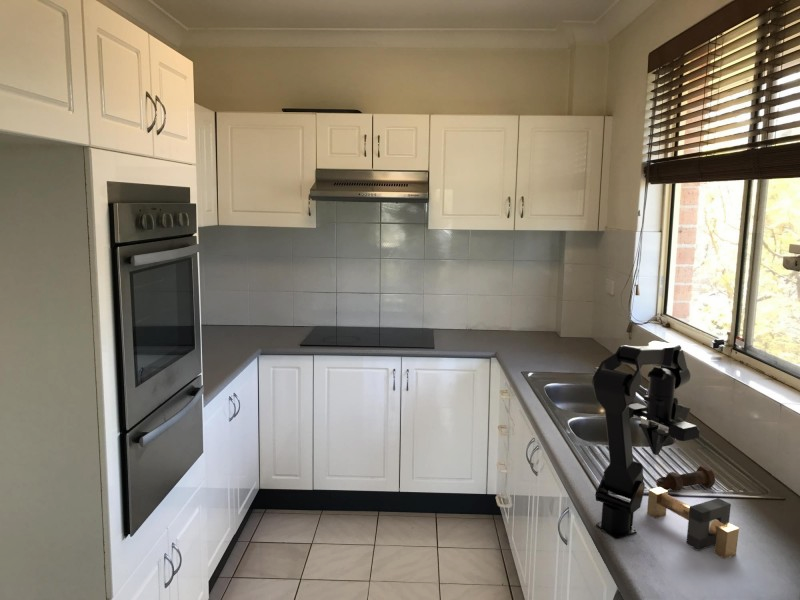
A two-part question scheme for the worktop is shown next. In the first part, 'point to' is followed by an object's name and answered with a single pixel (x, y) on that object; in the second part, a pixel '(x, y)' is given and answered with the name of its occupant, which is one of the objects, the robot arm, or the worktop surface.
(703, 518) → the dark grey square ring
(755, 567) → the worktop surface
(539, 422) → the worktop surface
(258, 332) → the worktop surface
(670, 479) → the bolt
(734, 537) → the square head rod
